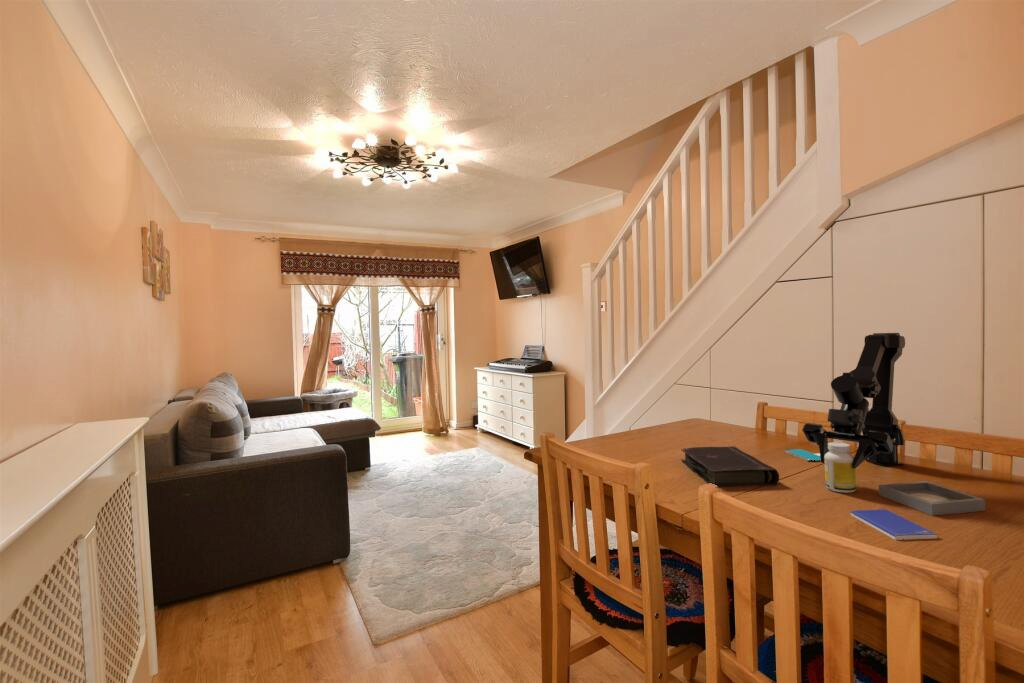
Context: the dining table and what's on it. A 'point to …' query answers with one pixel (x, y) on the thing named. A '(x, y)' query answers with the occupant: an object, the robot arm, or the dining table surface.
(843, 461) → the pill bottle
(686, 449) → the diary
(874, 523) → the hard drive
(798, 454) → the teal flat slab
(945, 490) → the holder tray
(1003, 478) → the dining table surface
